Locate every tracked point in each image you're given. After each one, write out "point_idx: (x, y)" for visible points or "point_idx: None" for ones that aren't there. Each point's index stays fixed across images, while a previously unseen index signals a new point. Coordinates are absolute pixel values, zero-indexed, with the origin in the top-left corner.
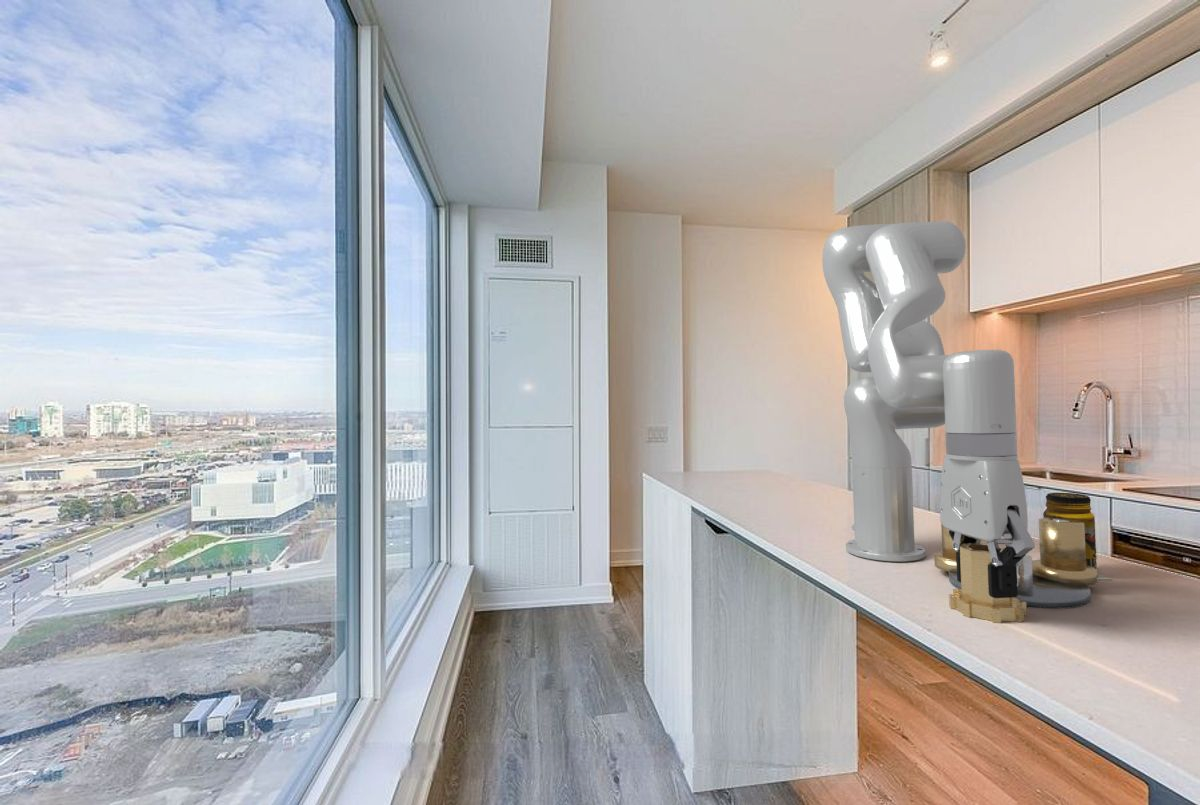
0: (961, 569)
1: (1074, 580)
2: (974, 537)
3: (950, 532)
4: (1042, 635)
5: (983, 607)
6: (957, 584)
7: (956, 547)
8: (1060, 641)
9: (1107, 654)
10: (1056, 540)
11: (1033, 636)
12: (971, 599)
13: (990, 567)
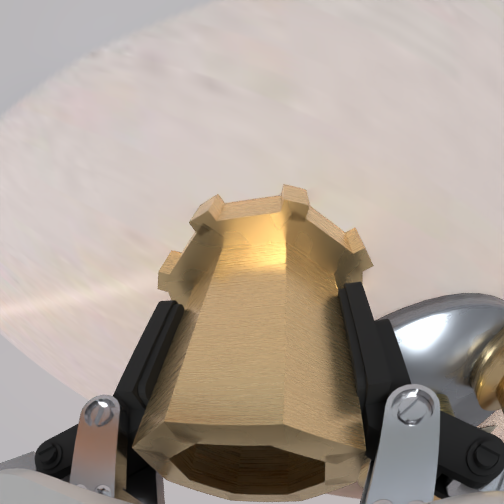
0: (277, 311)
1: (362, 464)
2: (81, 495)
3: (491, 454)
4: (116, 307)
5: (181, 257)
6: (459, 301)
7: (409, 405)
8: (96, 318)
9: (70, 343)
10: None
11: (104, 288)
12: (228, 250)
13: (121, 382)
